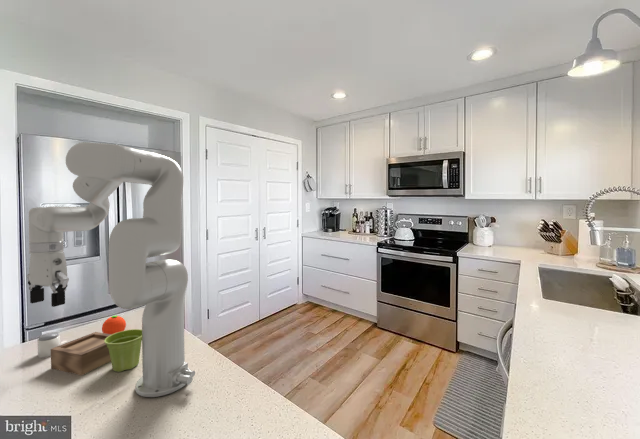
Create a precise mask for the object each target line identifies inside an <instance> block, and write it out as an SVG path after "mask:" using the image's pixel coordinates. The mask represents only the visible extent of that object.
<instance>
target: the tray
mask: <svg viewBox="0 0 640 439" xmlns="http://www.w3.org/2000/svg"><path fill="white" fill-rule="evenodd" d="M110 335H112V334H106V333H103V332H99V331H95V332H91V333H90V334H86V335H84V336H81V337H78V338H75V339H73V340H70V341H68V342H65V343H63V344H60V346H57V347H54V348H52V349H51V356H50V368H51V369H52V370H57V371H60V372H65V373H69V374H75V375H78V376H83V375H85V374H87V373H90V372H92V371H93V370H96V369H97V368H99V367H101V366H102V367H103V365H105V364H108V363H110V362H111V358H110V353H109V349H108V347H107V344H105V342H104V340H105V339H106V338H107V337H108V336H110Z"/></svg>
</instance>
